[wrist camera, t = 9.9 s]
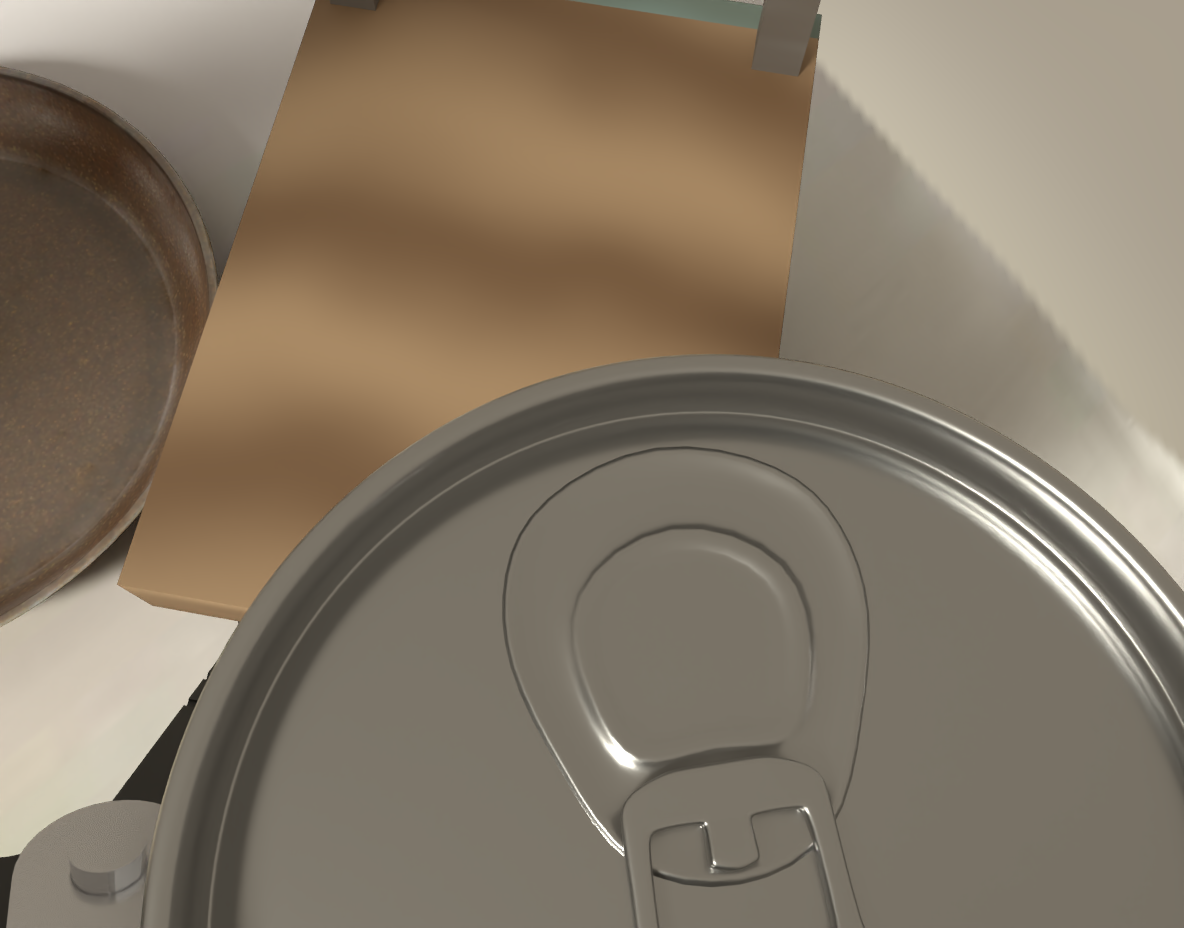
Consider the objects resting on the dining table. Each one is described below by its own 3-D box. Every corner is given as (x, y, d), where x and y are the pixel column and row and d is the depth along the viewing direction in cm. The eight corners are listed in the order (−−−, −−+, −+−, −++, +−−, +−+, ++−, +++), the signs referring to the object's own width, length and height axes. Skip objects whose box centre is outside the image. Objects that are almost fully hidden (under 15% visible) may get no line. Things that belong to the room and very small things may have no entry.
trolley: (685, 743, 31) (1194, 260, 6) (252, 664, 31) (-1021, -94, 6) (757, 227, 37) (1159, -1103, 12) (394, 168, 38) (39, -1223, 12)
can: (779, 631, 18) (1161, 217, 6) (877, 1069, 15) (1730, 1633, 4) (388, 691, 17) (49, 360, 6) (430, 1153, 15) (8, 2061, 4)
